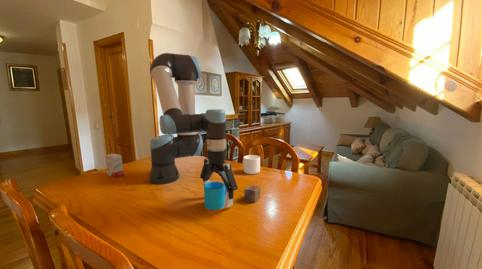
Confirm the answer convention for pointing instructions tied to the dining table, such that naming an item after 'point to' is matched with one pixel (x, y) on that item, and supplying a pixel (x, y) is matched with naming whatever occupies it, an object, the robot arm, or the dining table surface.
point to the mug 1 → (214, 195)
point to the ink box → (114, 165)
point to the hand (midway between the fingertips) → (218, 200)
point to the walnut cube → (252, 193)
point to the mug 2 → (251, 164)
